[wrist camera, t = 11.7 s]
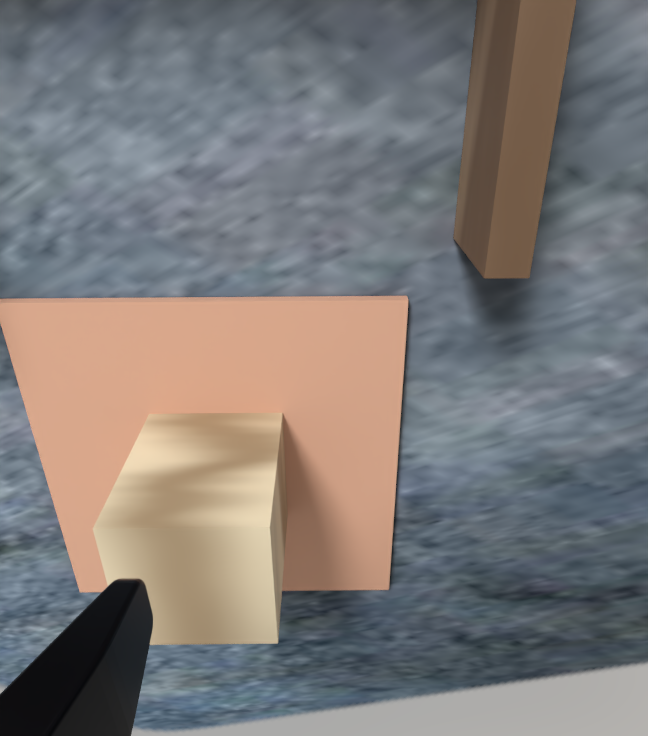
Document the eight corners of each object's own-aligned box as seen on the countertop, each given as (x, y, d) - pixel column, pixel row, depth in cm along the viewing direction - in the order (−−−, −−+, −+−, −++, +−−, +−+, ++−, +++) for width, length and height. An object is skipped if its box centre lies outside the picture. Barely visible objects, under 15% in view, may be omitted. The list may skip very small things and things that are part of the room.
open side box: (551, -233, 13) (633, -337, 10) (489, 237, 19) (529, 278, 15) (-263, -227, 13) (-470, -331, 10) (-96, 242, 19) (-193, 283, 15)
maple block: (282, 412, 21) (269, 527, 16) (287, 514, 24) (277, 643, 18) (149, 413, 21) (92, 528, 16) (167, 515, 24) (123, 644, 18)
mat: (407, 296, 20) (408, 300, 19) (387, 582, 26) (388, 589, 26) (0, 298, 20) (-6, 302, 19) (83, 585, 26) (80, 592, 26)
